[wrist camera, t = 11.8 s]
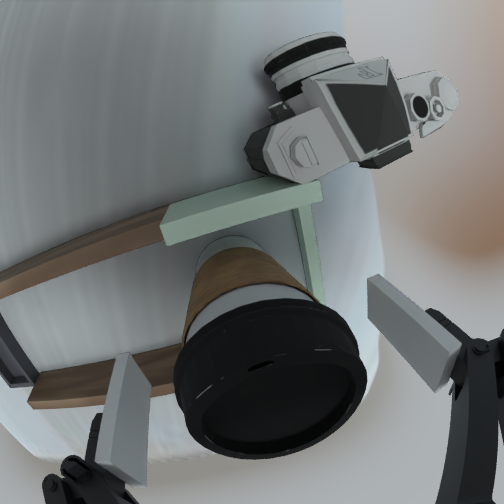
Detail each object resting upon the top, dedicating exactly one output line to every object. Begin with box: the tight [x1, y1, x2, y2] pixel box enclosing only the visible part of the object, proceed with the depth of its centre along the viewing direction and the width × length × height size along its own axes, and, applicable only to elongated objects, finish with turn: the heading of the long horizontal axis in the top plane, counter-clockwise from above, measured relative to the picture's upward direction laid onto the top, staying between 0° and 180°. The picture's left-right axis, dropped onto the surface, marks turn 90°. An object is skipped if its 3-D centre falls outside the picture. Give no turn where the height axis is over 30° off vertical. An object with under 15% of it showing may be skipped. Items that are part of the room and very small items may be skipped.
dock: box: [160, 176, 326, 306], centre depth 20 cm, size 13×10×6 cm
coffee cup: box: [173, 236, 367, 460], centre depth 16 cm, size 8×8×15 cm
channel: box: [0, 204, 182, 409], centre depth 19 cm, size 13×22×5 cm, turn 104°
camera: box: [243, 32, 459, 185], centre depth 15 cm, size 16×9×10 cm, turn 117°
